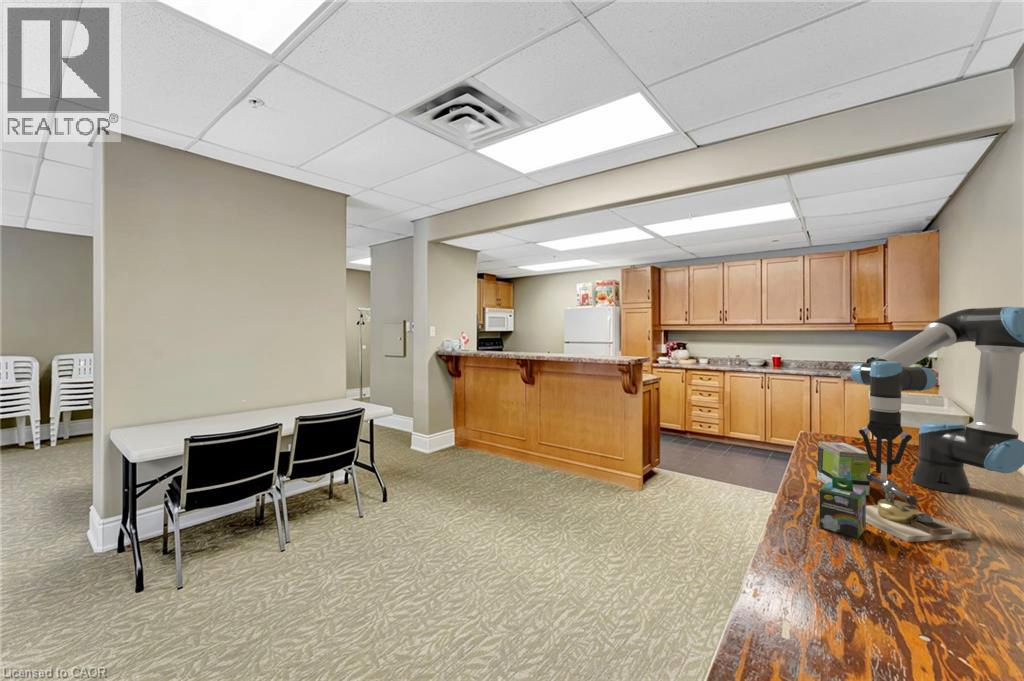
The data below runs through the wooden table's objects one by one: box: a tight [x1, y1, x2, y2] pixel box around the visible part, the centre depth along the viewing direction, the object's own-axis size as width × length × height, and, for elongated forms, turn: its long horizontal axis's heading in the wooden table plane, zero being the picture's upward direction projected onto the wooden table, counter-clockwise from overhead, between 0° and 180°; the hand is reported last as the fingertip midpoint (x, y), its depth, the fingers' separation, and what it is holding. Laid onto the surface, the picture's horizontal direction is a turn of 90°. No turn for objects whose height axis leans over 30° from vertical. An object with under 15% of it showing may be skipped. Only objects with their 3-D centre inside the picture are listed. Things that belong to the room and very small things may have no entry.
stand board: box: [866, 504, 972, 543], centre depth 124 cm, size 20×19×3 cm
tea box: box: [816, 441, 872, 496], centre depth 154 cm, size 15×10×15 cm, turn 168°
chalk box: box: [818, 477, 867, 540], centre depth 121 cm, size 9×9×15 cm
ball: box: [916, 512, 933, 527], centre depth 119 cm, size 4×4×4 cm
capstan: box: [866, 472, 920, 524], centre depth 129 cm, size 22×9×9 cm, turn 166°
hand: (883, 483), depth 135 cm, fingers closed
